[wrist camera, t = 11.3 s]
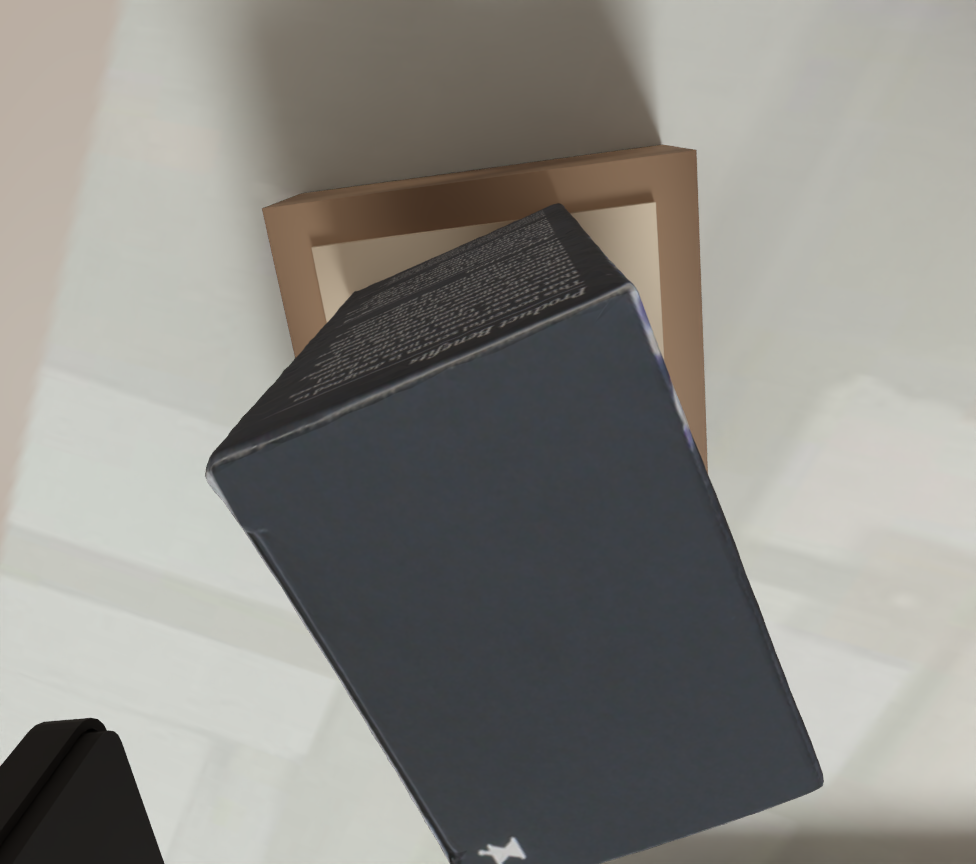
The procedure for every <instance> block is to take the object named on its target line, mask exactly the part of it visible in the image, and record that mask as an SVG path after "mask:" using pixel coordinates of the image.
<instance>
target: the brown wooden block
mask: <svg viewBox="0 0 976 864" xmlns="http://www.w3.org/2000/svg"><path fill="white" fill-rule="evenodd" d="M557 203H560V204H562V205H563V206H564V207H565V209H566V210H567V211H568V212H569V213H570V214H571V215H572V216H573V217H574V218H575V219H576V220H577V221H578V223H579V224H580V226H581V227H582V228H583V230H584V231H586V233H587V234H588V235H589V236H590V238H591V239H592V240H593V241H594V242H595V244H596V245H598V246H599V248H600V249H601V250H602V252H603V253H604V254H605V255H606V256H607V257H608V259H609V260H610V261H611V262H612V263H614V264H615V266H616V267H617V268H618V269H619V270H620V271H621V272H622V273H623V275H624V276H625V277H626V278H627V279H628V280H629V281H631V282H632V283H633V285H634V286H635V287H636V289H637V290H638V292H639V295H640V298H641V301H642V303H643V306H644V309H645V311H646V314H647V317H648V320H649V322H650V325H651V328H652V330H653V333H654V336H655V338H656V341H657V344H658V346H659V349H660V351H661V354H662V357H663V359H664V362H665V364H666V367H667V370H668V372H669V375H670V378H671V381H672V384H673V386H674V389H675V391H676V394H677V396H678V399H679V401H680V404H681V406H682V409H683V411H684V413H685V416H686V419H687V422H688V425H689V428H690V431H691V434H692V436H693V438H694V441H695V443H696V446H697V448H698V450H699V453H700V455H701V457H702V460H703V462H704V465H705V468H706V471H707V473H708V466H707V438H706V410H705V381H704V353H703V325H702V297H701V269H700V240H699V212H698V184H697V156H696V150H693V149H687V148H680V147H674V146H668V145H656V146H649V147H641V148H634V149H626V150H619V151H612V152H604V153H597V154H590V155H582V156H575V157H567V158H560V159H553V160H545V161H538V162H531V163H523V164H516V165H508V166H501V167H494V168H486V169H479V170H472V171H464V172H457V173H449V174H442V175H435V176H427V177H420V178H412V179H405V180H398V181H390V182H383V183H376V184H368V185H361V186H353V187H346V188H339V189H331V190H324V191H317V192H309V193H302V194H299V195H296V196H293V197H291V198H288V199H286V200H283V201H280V202H278V203H275V204H273V205H270V206H267V207H265V208H262V211H263V215H264V220H265V224H266V229H267V233H268V238H269V242H270V247H271V251H272V256H273V260H274V265H275V269H276V274H277V278H278V283H279V287H280V292H281V296H282V301H283V305H284V310H285V314H286V319H287V323H288V328H289V332H290V337H291V341H292V346H293V350H294V355H295V358H296V357H297V356H298V355H299V354H300V353H301V352H302V350H303V349H304V348H305V346H306V345H307V344H308V343H309V341H310V340H311V339H313V338H314V337H315V336H316V334H317V333H318V332H319V331H320V329H322V328H323V326H324V325H325V324H326V323H327V322H328V321H329V320H330V319H331V318H332V317H333V316H334V315H335V313H336V312H337V311H338V309H339V308H340V307H341V306H342V305H343V304H344V303H345V301H346V300H347V299H348V298H349V297H350V296H351V295H352V293H353V292H355V291H359V290H361V289H364V288H366V287H368V286H370V285H372V284H374V283H377V282H379V281H382V280H384V279H386V278H389V277H391V276H393V275H395V274H397V273H400V272H402V271H404V270H407V269H409V268H411V267H413V266H416V265H418V264H420V263H422V262H425V261H427V260H429V259H431V258H434V257H436V256H439V255H441V254H443V253H446V252H448V251H450V250H452V249H454V248H457V247H459V246H461V245H463V244H465V243H468V242H470V241H472V240H474V239H476V238H478V237H481V236H484V235H487V234H489V233H491V232H493V231H495V230H497V229H498V228H501V227H504V226H506V225H508V224H510V223H512V222H514V221H517V220H519V219H522V218H524V217H526V216H529V215H531V214H533V213H535V212H537V211H539V210H542V209H544V208H546V207H548V206H550V205H553V204H557Z"/></svg>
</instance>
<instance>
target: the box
mask: <svg viewBox="0 0 976 864" xmlns="http://www.w3.org/2000/svg"><path fill="white" fill-rule="evenodd" d="M205 476H206V479H207V482H208V484H209V485H210V486H211V488H212V489H213V490H214V492H215V493H216V494H217V495H218V496H219V497H220V498H221V499H222V500H223V502H224V503H225V504H226V506H227V507H228V509H229V510H230V512H231V513H232V514H233V516H234V517H235V519H236V520H237V522H238V523H239V525H240V526H241V527H242V528H243V530H244V531H245V533H246V534H247V536H248V538H249V539H250V541H251V542H252V544H253V545H254V547H255V548H256V550H257V552H258V553H259V555H260V556H261V558H262V559H263V561H264V562H265V564H266V565H267V567H268V568H269V570H270V571H271V573H272V574H273V576H274V577H275V578H276V580H277V581H278V583H279V584H280V585H281V587H282V589H283V590H284V592H285V593H286V595H287V597H288V599H289V600H290V602H291V604H292V606H293V607H294V609H295V611H296V612H297V614H298V615H299V617H300V619H301V620H302V622H303V623H304V625H305V626H306V628H307V630H308V631H309V633H310V634H311V636H312V637H313V639H314V640H315V642H316V643H317V645H318V647H319V648H320V650H321V651H322V653H323V654H324V656H325V657H326V659H327V660H328V662H329V663H330V665H331V666H332V668H333V670H334V671H335V673H336V674H337V676H338V678H339V679H340V681H341V683H342V684H343V686H344V688H345V689H346V691H347V693H348V695H349V696H350V698H351V700H352V701H353V703H354V705H355V706H356V708H357V709H358V711H359V712H360V714H361V715H362V717H363V718H364V720H365V722H366V724H367V725H368V727H369V729H370V731H371V733H372V734H373V736H374V737H375V739H376V740H377V742H378V743H379V745H380V747H381V748H382V750H383V751H384V753H385V754H386V756H387V758H388V761H389V762H390V763H391V765H392V766H393V768H394V769H395V771H396V772H397V774H398V776H399V778H400V780H401V781H402V783H403V784H404V786H405V787H406V789H407V791H408V793H409V795H410V797H411V799H412V800H413V802H414V803H415V805H416V806H417V808H418V809H419V811H420V813H421V815H422V817H423V819H424V821H425V823H426V824H427V825H428V826H429V829H430V830H431V832H432V834H433V835H434V837H435V838H436V840H437V841H438V843H439V845H440V847H441V849H442V851H443V852H444V854H445V856H446V858H447V859H448V861H449V863H450V864H601V863H604V862H607V861H610V860H614V859H617V858H620V857H623V856H626V855H629V854H633V853H637V852H640V851H644V850H647V849H650V848H653V847H656V846H659V845H662V844H664V843H667V842H671V841H674V840H677V839H681V838H684V837H687V836H690V835H693V834H696V833H699V832H702V831H705V830H708V829H711V828H714V827H717V826H721V825H724V824H727V823H729V822H732V821H735V820H737V819H740V818H743V817H746V816H748V815H752V814H755V813H758V812H761V811H764V810H766V809H769V808H772V807H774V806H777V805H780V804H782V803H785V802H787V801H790V800H793V799H795V798H798V797H801V796H803V795H806V794H808V793H811V792H813V791H815V790H817V789H819V788H820V787H822V786H823V782H824V780H823V773H822V770H821V767H820V764H819V761H818V759H817V757H816V754H815V751H814V748H813V745H812V743H811V740H810V737H809V735H808V732H807V730H806V727H805V725H804V722H803V720H802V717H801V715H800V713H799V711H798V708H797V706H796V703H795V701H794V698H793V696H792V693H791V691H790V688H789V686H788V683H787V680H786V677H785V675H784V672H783V669H782V667H781V664H780V662H779V659H778V657H777V654H776V652H775V649H774V646H773V643H772V641H771V638H770V636H769V633H768V630H767V628H766V625H765V622H764V619H763V616H762V614H761V611H760V608H759V605H758V603H757V600H756V598H755V596H754V593H753V591H752V588H751V586H750V583H749V580H748V578H747V575H746V573H745V570H744V567H743V564H742V562H741V559H740V556H739V553H738V550H737V547H736V544H735V542H734V539H733V536H732V534H731V531H730V529H729V526H728V524H727V521H726V518H725V516H724V513H723V511H722V508H721V506H720V503H719V501H718V498H717V495H716V493H715V490H714V488H713V486H712V483H711V481H710V479H709V476H708V473H707V471H706V468H705V465H704V462H703V460H702V457H701V455H700V453H699V450H698V448H697V446H696V443H695V441H694V438H693V436H692V434H691V431H690V428H689V425H688V422H687V419H686V416H685V413H684V411H683V409H682V406H681V404H680V401H679V399H678V396H677V394H676V391H675V389H674V386H673V384H672V381H671V378H670V375H669V372H668V370H667V367H666V364H665V362H664V359H663V357H662V354H661V351H660V349H659V346H658V344H657V341H656V338H655V336H654V333H653V330H652V328H651V325H650V322H649V320H648V317H647V314H646V311H645V309H644V306H643V303H642V301H641V298H640V295H639V292H638V290H637V289H636V287H635V286H634V285H633V283H632V282H631V281H629V280H628V279H627V278H626V277H625V276H624V275H623V273H622V272H621V271H620V270H619V269H618V268H617V267H616V266H615V264H614V263H612V262H611V261H610V260H609V259H608V257H607V256H606V255H605V254H604V253H603V252H602V250H601V249H600V248H599V246H598V245H596V244H595V242H594V241H593V240H592V239H591V238H590V236H589V235H588V234H587V233H586V231H584V230H583V228H582V227H581V226H580V224H579V223H578V221H577V220H576V219H575V218H574V217H573V216H572V215H571V214H570V213H569V212H568V211H567V210H566V209H565V207H564V206H563V205H562V204H560V203H557V204H553V205H550V206H548V207H546V208H544V209H542V210H539V211H537V212H535V213H533V214H531V215H529V216H526V217H524V218H522V219H519V220H517V221H514V222H512V223H510V224H508V225H506V226H504V227H501V228H498V229H497V230H495V231H493V232H491V233H489V234H487V235H484V236H481V237H478V238H476V239H474V240H472V241H470V242H468V243H465V244H463V245H461V246H459V247H457V248H454V249H452V250H450V251H448V252H446V253H443V254H441V255H439V256H436V257H434V258H431V259H429V260H427V261H425V262H422V263H420V264H418V265H416V266H413V267H411V268H409V269H407V270H404V271H402V272H400V273H397V274H395V275H393V276H391V277H389V278H386V279H384V280H382V281H379V282H377V283H374V284H372V285H370V286H368V287H366V288H364V289H361V290H359V291H355V292H353V293H352V295H351V296H350V297H349V298H348V299H347V300H346V301H345V303H344V304H343V305H342V306H341V307H340V308H339V309H338V311H337V312H336V313H335V315H334V316H333V317H332V318H331V319H330V320H329V321H328V322H327V323H326V324H325V325H324V326H323V328H322V329H320V331H319V332H318V333H317V334H316V336H315V337H314V338H313V339H311V340H310V341H309V343H308V344H307V345H306V346H305V348H304V349H303V350H302V352H301V353H300V354H299V355H298V356H297V357H296V358H295V359H294V361H293V362H292V363H291V364H290V365H289V367H287V368H286V369H285V370H284V371H283V373H282V374H281V376H280V377H279V378H278V379H277V380H276V382H275V383H274V384H273V385H272V386H271V387H270V388H269V389H268V390H267V391H266V392H265V393H264V395H262V397H261V398H260V399H259V400H258V401H257V403H256V404H255V405H254V406H253V407H252V408H251V409H250V410H249V411H248V412H247V413H246V414H245V415H244V416H243V417H242V418H241V420H240V421H239V423H238V424H237V425H236V426H235V427H234V428H233V429H232V430H231V432H230V433H229V435H228V436H227V438H226V439H225V440H224V441H223V442H222V443H221V444H220V445H219V446H218V447H217V448H216V450H215V451H214V452H213V453H212V455H211V456H210V458H209V461H208V464H207V467H206V473H205Z"/></svg>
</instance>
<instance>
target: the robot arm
mask: <svg viewBox="0 0 976 864" xmlns="http://www.w3.org/2000/svg"><path fill="white" fill-rule="evenodd" d="M0 864H164V861H163V858H162V856H161V853H160V850H159V847H158V844H157V841H156V839H155V836H154V833H153V830H152V827H151V824H150V821H149V819H148V816H147V813H146V810H145V807H144V804H143V801H142V799H141V796H140V793H139V790H138V787H137V784H136V782H135V779H134V776H133V773H132V770H131V767H130V764H129V762H128V759H127V756H126V753H125V750H124V747H123V745H122V742H121V740H120V738H119V736H118V734H116V733H115V732H114V731H107V730H106V728H105V726H104V724H103V723H102V722H100V721H99V720H98V719H94V718H85V719H73V720H61V721H49V722H43V723H40V724H37V725H35V726H34V727H33V728H32V729H31V730H30V731H29V732H28V733H27V734H26V736H25V737H24V738H23V739H22V740H21V742H20V743H19V744H18V745H17V747H16V748H15V749H14V750H13V751H12V753H11V754H10V755H9V756H8V758H7V759H6V760H5V761H4V763H3V764H2V765H1V766H0Z"/></svg>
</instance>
